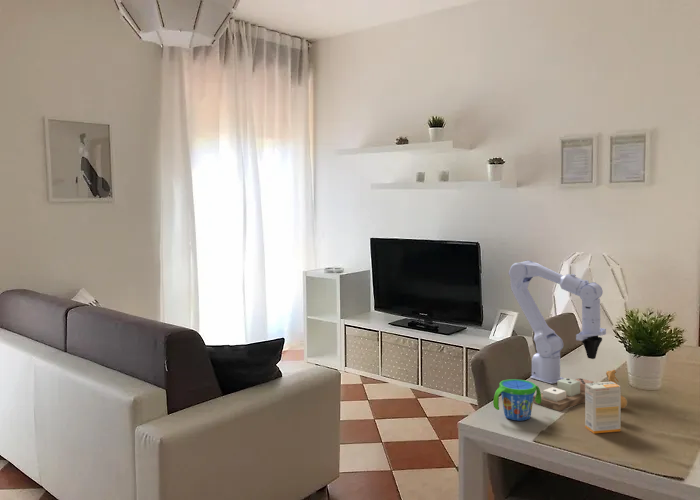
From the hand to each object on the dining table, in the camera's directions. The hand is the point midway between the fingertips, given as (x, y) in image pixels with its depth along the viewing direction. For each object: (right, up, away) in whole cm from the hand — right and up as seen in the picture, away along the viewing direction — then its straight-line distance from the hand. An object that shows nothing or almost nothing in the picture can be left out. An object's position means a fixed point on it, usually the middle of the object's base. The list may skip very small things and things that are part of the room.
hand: (591, 358), depth 198 cm
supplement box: (-11, -14, -35) cm, 39 cm away
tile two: (-11, -10, -9) cm, 17 cm away
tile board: (-11, -12, -9) cm, 18 cm away
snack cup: (-32, -13, -24) cm, 42 cm away
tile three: (-5, -11, -5) cm, 13 cm away
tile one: (-17, -12, -13) cm, 25 cm away
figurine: (0, -12, -18) cm, 22 cm away
